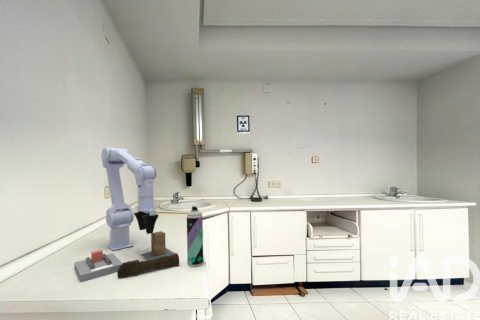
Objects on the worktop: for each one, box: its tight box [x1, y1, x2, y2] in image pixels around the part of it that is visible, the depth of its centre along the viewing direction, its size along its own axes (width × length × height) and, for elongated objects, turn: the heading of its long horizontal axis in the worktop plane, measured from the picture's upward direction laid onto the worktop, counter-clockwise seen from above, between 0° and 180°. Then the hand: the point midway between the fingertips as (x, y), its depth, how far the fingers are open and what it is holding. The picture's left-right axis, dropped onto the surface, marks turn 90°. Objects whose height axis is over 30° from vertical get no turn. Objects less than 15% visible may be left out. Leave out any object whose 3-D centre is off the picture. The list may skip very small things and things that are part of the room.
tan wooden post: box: [150, 230, 167, 256], centre depth 91 cm, size 4×4×8 cm
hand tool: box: [116, 252, 180, 279], centre depth 77 cm, size 19×4×5 cm, turn 118°
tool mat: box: [140, 247, 177, 260], centre depth 91 cm, size 10×10×1 cm
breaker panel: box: [73, 252, 124, 283], centre depth 79 cm, size 14×12×3 cm
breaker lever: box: [90, 249, 104, 263], centre depth 81 cm, size 2×3×3 cm
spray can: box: [186, 205, 204, 268], centre depth 82 cm, size 6×6×20 cm
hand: (146, 231), depth 91 cm, fingers open, 7 cm apart
